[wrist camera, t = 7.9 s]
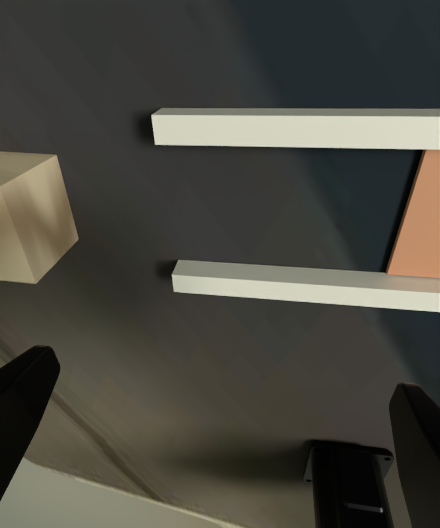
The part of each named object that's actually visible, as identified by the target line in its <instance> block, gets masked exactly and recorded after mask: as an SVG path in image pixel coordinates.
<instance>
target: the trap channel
mask: <svg viewBox="0 0 440 528" xmlns="http://www.w3.org/2000/svg"><path fill="white" fill-rule="evenodd" d="M151 117H152V124H153V132H154V140H155V145H200V146H258V147H315V148H373V149H423V153H422V156H421V159H420V162H419V166H418V169H417V172H416V175H415V178H414V182H413V185H412V188H411V191H410V195H409V198H408V201H407V204H406V207H405V211H404V214H403V217H402V220H401V224H400V227H399V230H398V233H397V236H396V240H395V243H394V246H393V249H392V253H391V256H390V259H389V262H388V265H387V269H386V273H381V272H365V271H349V270H333V269H317V268H301V267H286V266H270V265H254V264H238V263H222V262H206V261H190V260H178V262H177V264H176V266H175V269H174V271H173V273H172V281H173V288H174V292H183V293H196V294H210V295H223V296H236V297H249V298H262V299H275V300H289V301H302V302H315V303H328V304H341V305H354V306H368V307H381V308H394V309H407V310H420V311H433V312H440V109H294V108H161V109H160V110H158V111H157V112H155V113H154V114H152V115H151Z"/></svg>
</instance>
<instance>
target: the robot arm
mask: <svg viewBox="0 0 440 528" xmlns="http://www.w3.org/2000/svg"><path fill="white" fill-rule="evenodd" d="M59 373H60V364H59V362H58V359H57V357H56V355H55V353H54V350H53V349H52V348H51V347H50V346H43V345H36V346H33V347H32V348H30V349H29V350H27V351H25V352H24V353H22V354H21V355H19V356H18V357H16V358H15V359H13V360H12V361H10V362H9V363H7V364H6V365H4V366H3V367H1V368H0V501H1V499H2V497H3V495H4V493H5V491H6V489H7V487H8V485H9V483H10V481H11V479H12V477H13V475H14V473H15V471H16V469H17V468H18V465H19V464H20V462H21V460H22V458H23V456H24V454H25V452H26V450H27V448H28V446H29V444H30V442H31V440H32V438H33V436H34V434H35V432H36V430H37V428H38V426H39V424H40V421H41V419H42V416H43V414H44V411H45V409H46V406H47V404H48V401H49V399H50V396H51V394H52V391H53V389H54V386H55V384H56V381H57V379H58V376H59ZM389 413H390V419H391V426H392V433H393V439H394V446H395V453H396V460H397V466H398V472H399V478H400V482H401V486H402V490H403V494H404V498H405V502H406V506H407V510H408V513H409V517H410V521H411V525H412V528H440V407H439V406H438V405H437V404H436V403H435V402H434V401H433V400H432V398H431V397H430V396H429V395H428V394H427V393H426V392H425V391H424V390H423V389H422V387H420V386H419V385H418V384H415V383H406V382H400V383H398V385H397V386H396V389H395V391H394V393H393V396H392V398H391V400H390V404H389ZM393 461H394V457H393V453H392V452H390V451H385V450H377V449H369V448H361V447H353V446H346V445H338V444H330V443H322V442H313V443H311V445H310V449H309V453H308V457H307V461H306V465H305V469H304V474H303V481H304V482H306V483H310V484H312V485H313V499H314V513H315V527H316V528H394V525H393V520H392V516H391V512H390V507H389V503H388V498H387V494H386V490H385V485H384V481H383V479H384V478H385V476H386V474H387V472H388V470H389V468H390V466H391V464H392V463H393Z"/></svg>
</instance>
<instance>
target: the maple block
mask: <svg viewBox="0 0 440 528" xmlns="http://www.w3.org/2000/svg"><path fill="white" fill-rule="evenodd" d="M78 240H79V238H78V235H77V231H76V227H75V223H74V219H73V216H72V212H71V208H70V204H69V200H68V197H67V193H66V189H65V185H64V181H63V178H62V174H61V170H60V166H59V162H58V159H57V155H52V154H34V153H17V152H0V280H2V281H12V282H22V283H31V284H36V283H37V282H38V281H39V280H40V279H41V278H42V277H43V276H44V275H45V274H46V273H47V272H48V271H49V270H50V269H51V268H52V267H53V266H54V265H55V264H56V263H57V261H58V260H59V259H60V258H61V257H62V256H63V255H64V254H65V253H66V252H67V251H68V250H69V249H70V248H71V247H72V246H73V245H74V244H75V243H76V242H77V241H78Z"/></svg>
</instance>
